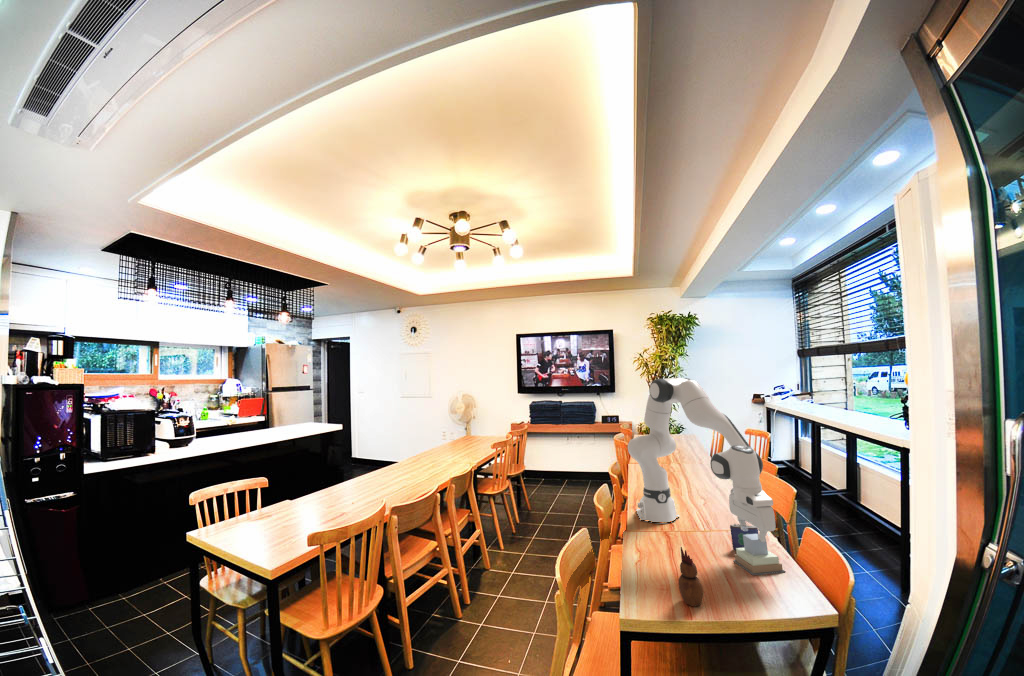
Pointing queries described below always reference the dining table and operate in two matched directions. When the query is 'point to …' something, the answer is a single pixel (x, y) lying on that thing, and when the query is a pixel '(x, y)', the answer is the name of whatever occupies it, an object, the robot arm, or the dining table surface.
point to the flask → (740, 535)
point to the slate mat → (758, 573)
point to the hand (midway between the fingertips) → (753, 535)
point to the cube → (754, 545)
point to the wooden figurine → (689, 581)
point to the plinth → (759, 568)
